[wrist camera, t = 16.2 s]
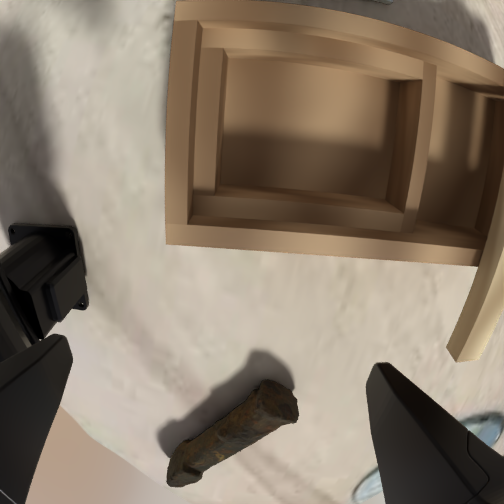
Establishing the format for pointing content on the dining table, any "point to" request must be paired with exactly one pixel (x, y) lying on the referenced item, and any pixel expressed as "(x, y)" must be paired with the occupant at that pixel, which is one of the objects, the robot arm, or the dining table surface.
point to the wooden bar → (483, 294)
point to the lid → (384, 1)
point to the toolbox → (328, 135)
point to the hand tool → (233, 433)
